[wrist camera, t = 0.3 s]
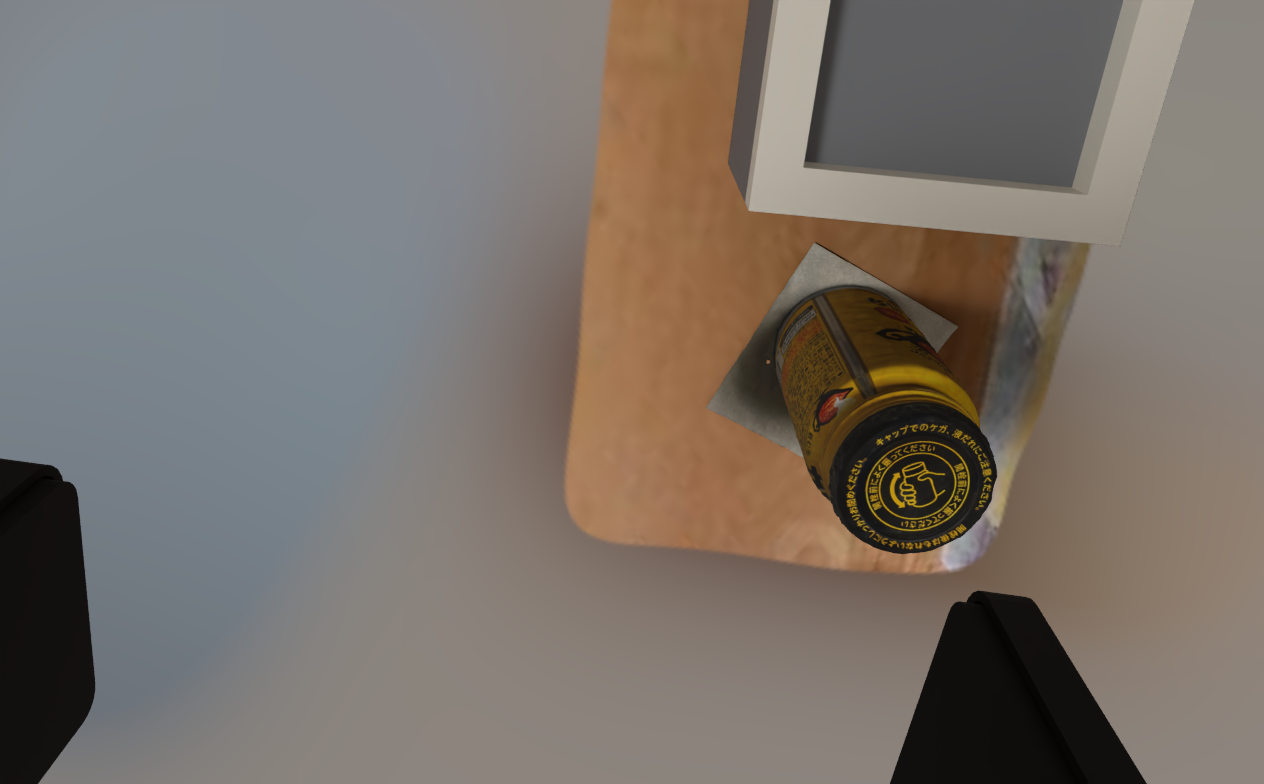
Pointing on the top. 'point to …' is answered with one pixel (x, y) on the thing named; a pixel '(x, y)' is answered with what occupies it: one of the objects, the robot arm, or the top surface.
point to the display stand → (954, 111)
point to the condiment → (865, 406)
